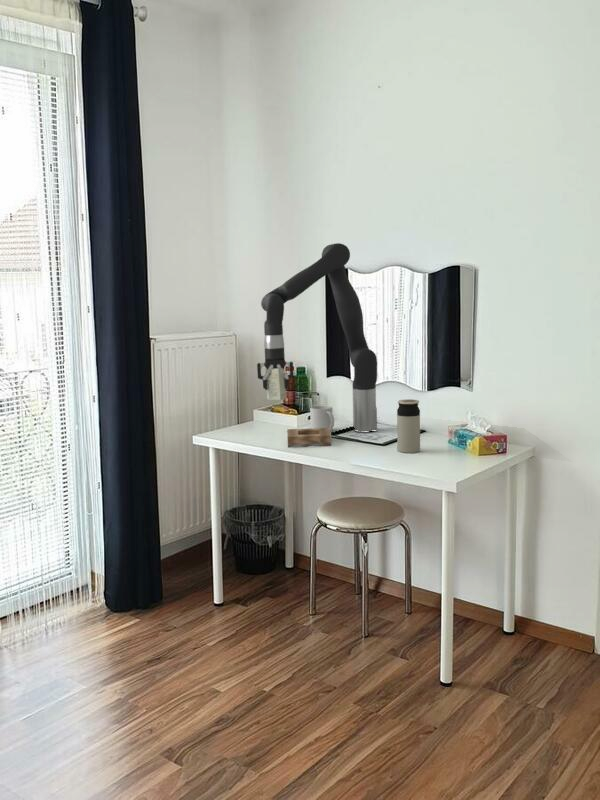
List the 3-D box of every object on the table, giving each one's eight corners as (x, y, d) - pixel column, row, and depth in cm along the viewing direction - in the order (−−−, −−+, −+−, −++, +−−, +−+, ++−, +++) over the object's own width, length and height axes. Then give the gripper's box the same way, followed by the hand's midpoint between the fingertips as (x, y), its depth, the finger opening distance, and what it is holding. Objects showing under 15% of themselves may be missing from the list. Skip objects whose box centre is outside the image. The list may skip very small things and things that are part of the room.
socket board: (329, 438, 310) (328, 427, 309) (331, 446, 296) (330, 435, 296) (287, 439, 310) (287, 429, 309) (287, 447, 296) (287, 436, 296)
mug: (311, 429, 328) (310, 405, 326) (334, 429, 327) (333, 404, 325) (310, 435, 317) (309, 410, 315) (334, 434, 316) (333, 409, 315)
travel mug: (423, 449, 286) (423, 400, 283) (414, 454, 279) (413, 403, 276) (403, 447, 290) (403, 398, 287) (393, 452, 284) (393, 402, 281)
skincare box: (286, 398, 309) (285, 367, 307) (280, 400, 306) (279, 368, 304) (272, 397, 313) (271, 366, 311) (266, 399, 309) (265, 368, 307)
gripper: (293, 344, 310) (294, 387, 312) (255, 346, 310) (257, 388, 312) (293, 346, 302) (294, 389, 305) (255, 348, 302) (257, 391, 305)
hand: (276, 389), depth 309 cm, fingers closed on skincare box, 7 cm apart
